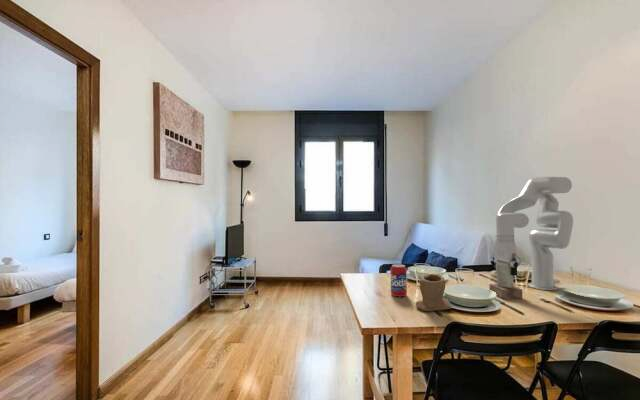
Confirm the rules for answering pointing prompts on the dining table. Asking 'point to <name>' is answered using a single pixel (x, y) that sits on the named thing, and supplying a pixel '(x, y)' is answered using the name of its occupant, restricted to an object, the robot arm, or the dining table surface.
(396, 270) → the soda can
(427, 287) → the stone cup
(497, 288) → the walnut block
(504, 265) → the skincare box
